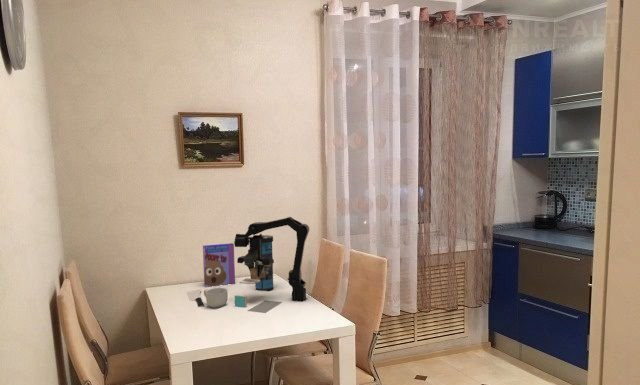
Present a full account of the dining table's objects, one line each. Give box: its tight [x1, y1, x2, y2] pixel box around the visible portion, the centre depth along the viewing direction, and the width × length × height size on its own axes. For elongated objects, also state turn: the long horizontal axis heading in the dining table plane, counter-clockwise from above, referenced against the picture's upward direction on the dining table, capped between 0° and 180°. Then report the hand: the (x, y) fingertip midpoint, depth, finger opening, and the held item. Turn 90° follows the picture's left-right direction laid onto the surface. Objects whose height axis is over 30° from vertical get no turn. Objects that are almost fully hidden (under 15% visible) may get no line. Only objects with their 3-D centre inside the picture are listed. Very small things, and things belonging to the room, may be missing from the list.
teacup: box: [203, 287, 229, 309], centre depth 224 cm, size 14×11×8 cm
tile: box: [234, 294, 248, 308], centre depth 220 cm, size 6×2×6 cm, turn 68°
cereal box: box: [202, 243, 236, 288], centre depth 264 cm, size 17×5×24 cm, turn 111°
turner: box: [238, 266, 264, 285], centre depth 230 cm, size 16×8×6 cm, turn 159°
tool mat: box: [246, 299, 283, 314], centre depth 219 cm, size 10×18×1 cm, turn 157°
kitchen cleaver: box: [186, 289, 205, 308], centre depth 237 cm, size 31×2×10 cm
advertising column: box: [254, 234, 274, 292], centre depth 251 cm, size 11×11×30 cm
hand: (255, 276), depth 231 cm, fingers closed on turner, 3 cm apart
